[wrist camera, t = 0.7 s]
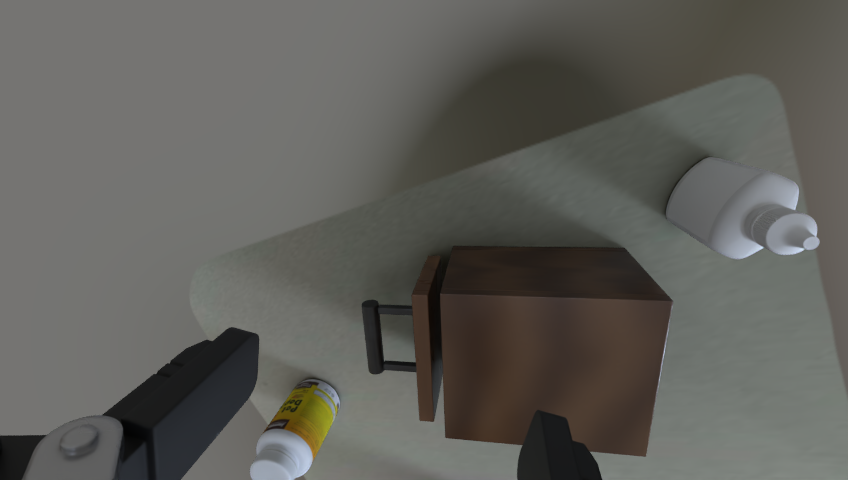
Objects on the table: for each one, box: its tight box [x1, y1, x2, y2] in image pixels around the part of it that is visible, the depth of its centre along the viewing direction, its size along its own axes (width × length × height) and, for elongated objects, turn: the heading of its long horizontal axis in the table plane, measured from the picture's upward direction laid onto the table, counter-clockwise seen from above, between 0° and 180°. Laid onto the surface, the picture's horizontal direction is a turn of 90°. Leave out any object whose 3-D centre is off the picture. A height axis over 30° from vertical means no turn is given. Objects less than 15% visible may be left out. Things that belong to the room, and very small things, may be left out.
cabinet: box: [440, 246, 673, 457], centre depth 32 cm, size 15×13×10 cm
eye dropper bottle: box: [666, 157, 819, 259], centre depth 25 cm, size 4×6×12 cm
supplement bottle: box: [250, 379, 340, 480], centre depth 39 cm, size 6×6×10 cm
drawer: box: [362, 256, 443, 422], centre depth 33 cm, size 18×11×8 cm, turn 93°
